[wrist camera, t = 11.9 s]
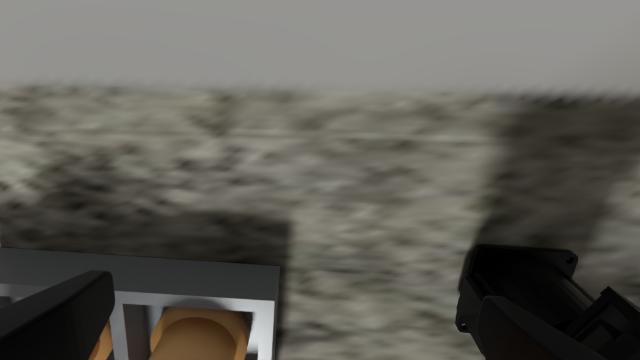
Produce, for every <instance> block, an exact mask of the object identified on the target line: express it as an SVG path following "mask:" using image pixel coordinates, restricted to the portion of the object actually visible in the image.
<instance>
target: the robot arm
mask: <svg viewBox="0 0 640 360" xmlns="http://www.w3.org/2000/svg"><path fill="white" fill-rule="evenodd" d="M482 251H485V253H484V254H482V255H480V253H481V252H482ZM569 257H570V258H569ZM567 258H569V259H568V260H567ZM577 262H578V257H577V255H576V254H574V253H573V252H572V251H569V250H558V249H544V248H530V247H516V246H502V245H488V244H480V245H478V246H476V247H475V248H474V251H473V254H472V258H471V262H470V266H469V270H468V274H467V275H466V276H465V277H464V281H463V285H462V289H461V293H460V297H459V301H458V305H457V310H458V314H457V318H456V322H455V324H456V326H457V328H458V330H459V331H460V332H463V333H470V334H471V335H472V337H473V339H474V341H475V343H476V344H477V346H478V348H479V350H480V352H481V353H482V354H483V355H484V357H485V359H486V360H640V308H639V307H637V306H636V305H634V304H633V303H632V302H630V301H629V300H627V299H626V298H625V297H623V296H622V295H620V294H619V293H618V292H616V291H615V290H613V289H612V288H611V287H609V286H608V287H607V288H605V289H604V290H603V291H602V292H601V293H600V294H601V296H600V297H599V298H598V299H597V300H595V299H594V298H593V297H592V296H591V295H589V294H588V293H587V292H586V291H585V290H584V289H583V288H582V287H580V286H579V285H578V284H577V283H576V282H575V281H574V280H572V279H571V278H572V276H573V273H574V270H575V267H576V265H577ZM114 306H115V292H114V283H113V276H112V273H111V272H110V271H107V270H89V271H87V272H85V273H82V274H80V275H78V276H75V277H73V278H71V279H68V280H66V281H63V282H61V283H59V284H56V285H54V286H52V287H49V288H47V289H45V290H42V291H40V292H37V293H35V294H33V295H30V296H28V297H26V298H23V299H21V300H19V301H16V302H14V303H11V304H9V305H7V306H4V307H2V308H0V360H89V358H90V356H91V354H92V352H93V350H94V348H95V346H96V344H97V342H98V340H99V338H100V336H101V334H102V332H103V330H104V328H105V326H106V324H107V322H108V320H109V318H110V316H111V314H112V312H113V310H114ZM462 324H465V325H462Z"/></svg>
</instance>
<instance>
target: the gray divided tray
mask: <svg viewBox="0 0 640 360" xmlns="http://www.w3.org/2000/svg"><path fill="white" fill-rule="evenodd" d="M89 270H107V271H110V272H111V273H112V276H113V283H114V292H115V306H114V310H113V312H112V314H111V316H110V326H111V334H112V342H113V349H112V351H111V353H110V354H109V356H108V357H107V359H106V360H275V348H276V331H277V314H278V297H279V280H280V266H271V265H256V264H241V263H226V262H211V261H197V260H182V259H167V258H152V257H137V256H123V255H108V254H93V253H78V252H63V251H49V250H34V249H19V248H4V247H0V308H2V307H4V306H7V305H9V304H11V303H14V302H16V301H19V300H21V299H23V298H26V297H28V296H30V295H33V294H35V293H37V292H40V291H42V290H45V289H47V288H49V287H52V286H54V285H56V284H59V283H61V282H63V281H66V280H68V279H71V278H73V277H75V276H78V275H80V274H82V273H85V272H87V271H89Z"/></svg>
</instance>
